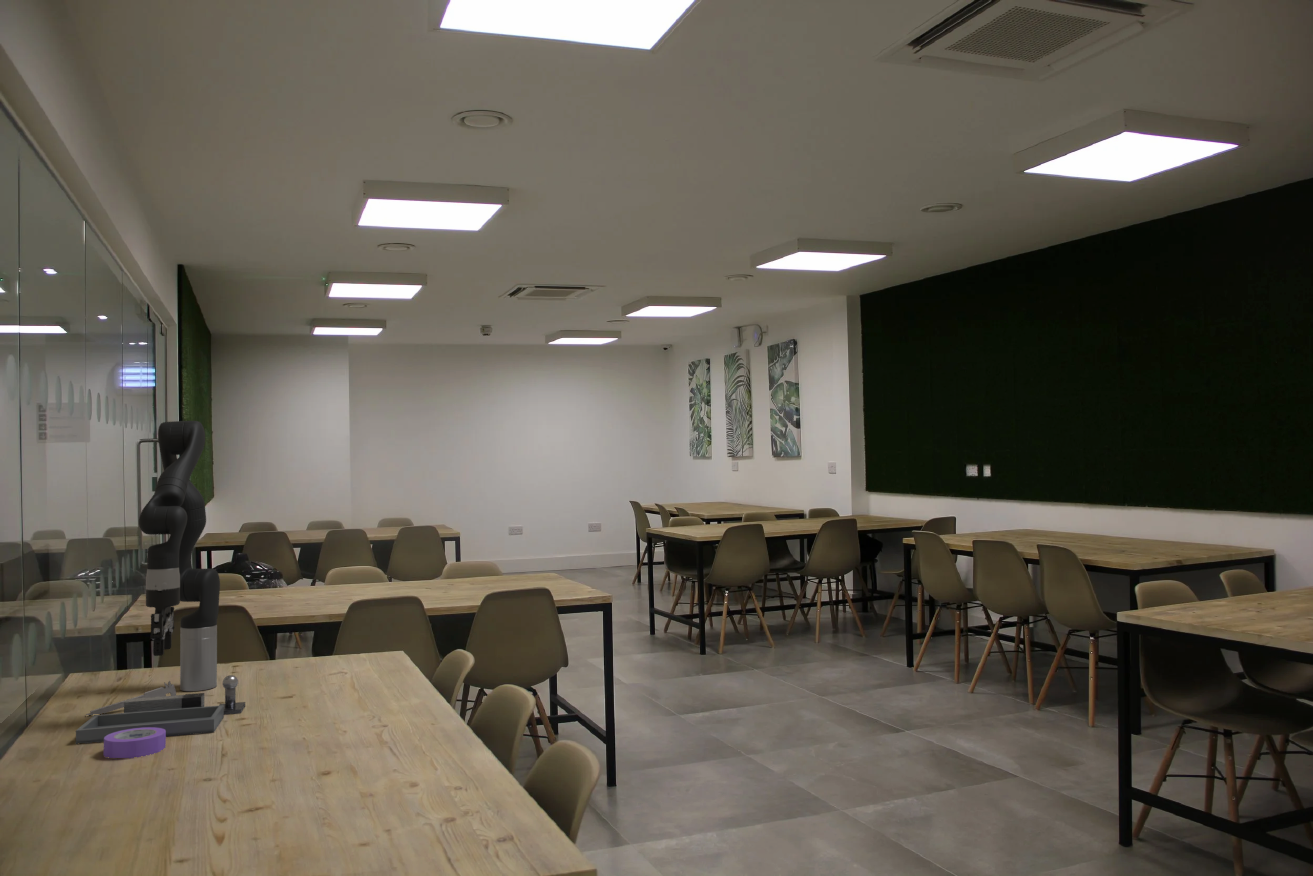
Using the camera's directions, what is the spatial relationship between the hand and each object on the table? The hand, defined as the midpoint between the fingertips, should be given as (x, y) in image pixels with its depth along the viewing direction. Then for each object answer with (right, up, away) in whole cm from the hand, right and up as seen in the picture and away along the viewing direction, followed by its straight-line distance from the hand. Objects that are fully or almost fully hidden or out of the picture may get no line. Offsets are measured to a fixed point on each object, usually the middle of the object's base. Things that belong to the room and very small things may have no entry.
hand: (162, 652), depth 231 cm
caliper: (-11, -17, +6) cm, 21 cm away
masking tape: (+10, -15, -30) cm, 35 cm away
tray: (+5, -15, -14) cm, 21 cm away
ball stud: (+15, -16, +4) cm, 22 cm away
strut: (0, -16, -1) cm, 16 cm away
